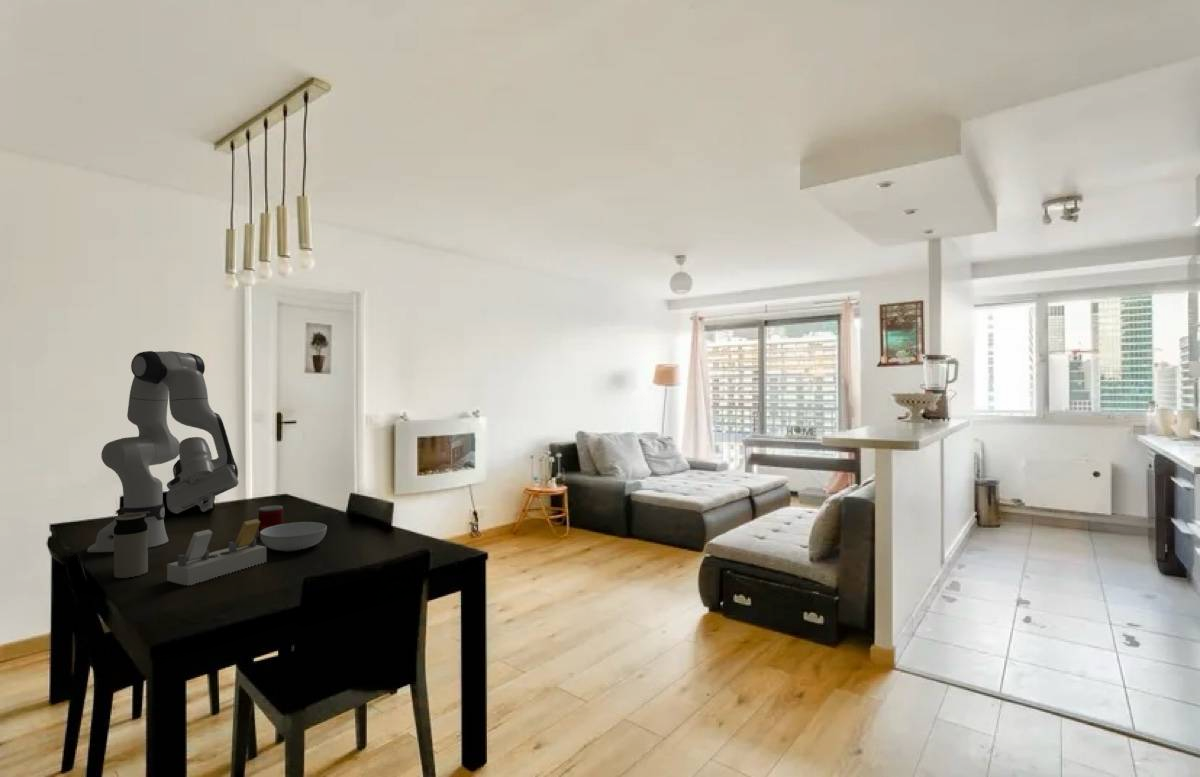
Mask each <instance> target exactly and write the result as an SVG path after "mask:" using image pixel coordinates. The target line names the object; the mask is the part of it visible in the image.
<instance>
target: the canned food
mask: <svg viewBox="0 0 1200 777" xmlns="http://www.w3.org/2000/svg"><path fill="white" fill-rule="evenodd" d="M258 520H259V521H260V524H259V527H258V537H259V538H260V539H261V537H260V531H261V530H263V529H265V528H268V527H271V526H275V525H280V524H284V506H283V505H278V504H274V505H266V506H261V507H259V508H258Z"/></svg>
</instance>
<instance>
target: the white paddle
mask: <svg viewBox="0 0 1200 777" xmlns="http://www.w3.org/2000/svg"><path fill="white" fill-rule="evenodd" d="M212 535H213V532H212V530H211V529H206V530H205V529H204V530H201V531H197V532H193V535H192V537H191V540H190V542H189V545H188V548H187V550H186V554H185V556H187V562H188V561H192V560H196V559H199V558H203V557H204V554H205V552H206V549H207V550H208V547H209V544H210V541H211V539H212Z"/></svg>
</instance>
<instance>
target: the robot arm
mask: <svg viewBox="0 0 1200 777" xmlns="http://www.w3.org/2000/svg"><path fill="white" fill-rule="evenodd" d="M130 367H131V368H130V369H131V373H132V374H133V379H132V383H131V386H130V389H129V390H130V391H129V399H128V404H127V405H128V406H127V413H126V415H127V416H126V417H127V419H128V422H130V423H131V424H133V425H135V426H136V427H137V429H138V436H130V437H129V436H128V437H122V438H118V439H115V440H112V441H110V442H107V443H106V444H105V445H104V446H103V448H102V450H101V457H100V458H101V460H102V462H103V464H104V465H105V466H106V467H107V468H109V469H111V470H112V471H113V472H115V473H116V476H118V478H119V481H120V482H121V484H122V485H121V486H122V494H123V495H122V496H123V506H122V507H120V508H118V509H117V510H115V511H114V512H115V513H114V514H115V515H117V516H120V515H124V514H132V513H145V514H146V516H145V522H146V523H147V536H148V549H149V548H154V547H158V546H160V545H164V544H167V543H168V542H169V538H168V534H167V531H166V527H165V522H164V519H165V514H166V513H165V510H166V509H165V503H164V501H163V500H164V498H163V497H164V496H163V482H162V480H161V479H159V478H158V477H156V476H153V474H152V473H151V471H150V466H155V465H160V464H161V465H162V464H166V463H169V462H171V461H173V460H175V459H177V458H178V457H179V459H177V461H176V462H175V463H174V465H173V467H172V473H173V479H171V480H169V481H168V482H167V483H166V487H167V489H168V491H167V492H166V507H167V509H168V511H170V512H171V513H173V514H179V513H182V512H183V511H186V510H188V509H190V508H193V507H195V506H196V505H197V506H199V509H200V511H201V512H203V513H204V512H206V511H209V510H211V509H213V508H214V506H213V505H214V502H215V500H216V496H219V495H221V494H223V493H225V492H228V491H230V490H231V489H232V490H233V489H235V488H236V487H238V485H239V483H240V482H239V480H238V477H239V476H238V475H239V469H238V465H237V463H236V461H235V458H234V455H233V452H232V449H231V446H230V441H229V438H228V435H227V430H226V429H225V425H224V422H223V420H222V419H223V418H222V417H221V415H220V414H219V413H217V412H214V410H212V407H211V406H210V403H209V397H208V389H207V384H206V380H205V378H204V373H205V372H206V371H205V369H206V367H205V362H204V360H203V358H202V357H201V356H199V355H197V354H194V353H190V352H180V351H175V350H174V351H170V350H169V351H153V350H148V351H146V350H145V351H141V352H138V353H137V354H135V355H134V357H133V358H132V361H131V363H130ZM168 404H169V405H168ZM168 406H169V411H170V415H171V418H173V420H175V421H176V422H178V423H179V424H181V425H184V426H187V427H190V428H196V429H199V430H203V431H205V432H207V433H209V434H210V436H211V437H212V440H213V444H214V446H215V450H216V453H217V458H214V459H213V455H212V452H211V448H210V447H209V444H208V442H207V441H206V439H205V438H203V437H200V436H194V437H193V436H191V437H186V438H184V439H182V440H181V441H179V440H178V439H177V437H176V436H174V435H173V434H172V433H171V430H170V429H169V425H168V420H167V419H168V418H167V416H168ZM204 502H205V503H204ZM116 524H117V523H116V520H115V519H114V520H112V521H111V522H110V523H108V524H107V525H106V526H104V527H103V528H102V529H100V530H99V532H98V533H97V536H96V539H95V543H93V544H92V545H89V547H88V548H87V551H86V552H87V553H114V527H115V526H116Z"/></svg>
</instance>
